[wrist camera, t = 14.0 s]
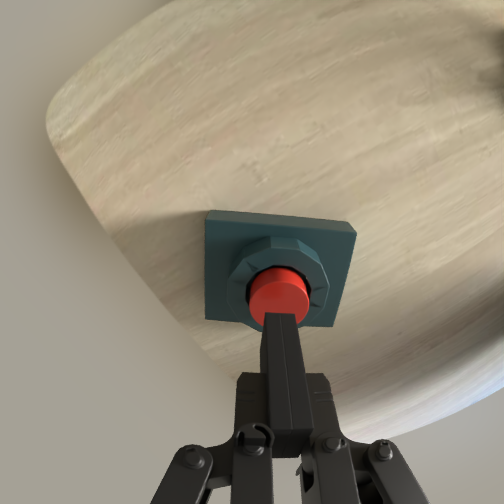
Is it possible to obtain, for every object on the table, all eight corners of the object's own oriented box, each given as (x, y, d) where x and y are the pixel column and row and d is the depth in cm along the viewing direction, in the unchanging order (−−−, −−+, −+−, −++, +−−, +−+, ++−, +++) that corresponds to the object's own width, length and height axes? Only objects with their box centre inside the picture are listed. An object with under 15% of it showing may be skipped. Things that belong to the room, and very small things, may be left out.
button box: (209, 303, 23) (201, 335, 20) (210, 209, 20) (199, 229, 16) (327, 311, 24) (337, 342, 20) (348, 221, 20) (366, 243, 17)
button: (248, 311, 19) (247, 328, 18) (252, 264, 18) (251, 279, 16) (300, 314, 19) (303, 331, 18) (309, 269, 18) (314, 283, 16)
